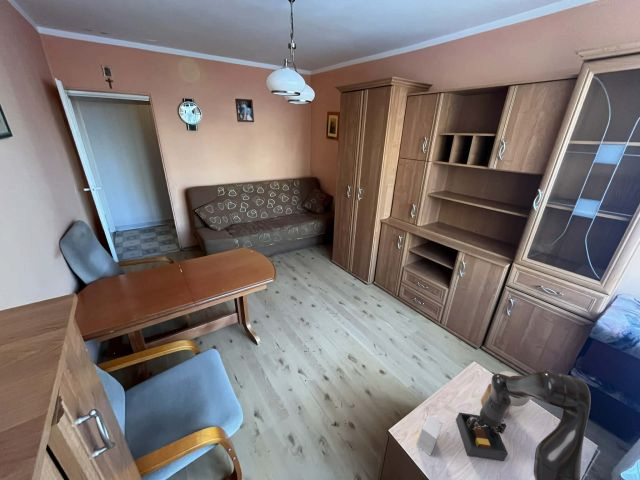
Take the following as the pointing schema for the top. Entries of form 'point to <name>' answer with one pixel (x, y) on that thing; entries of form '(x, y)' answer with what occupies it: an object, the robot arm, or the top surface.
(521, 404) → the lamp
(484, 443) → the chocolate bar
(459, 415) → the dark gray rectangular tray
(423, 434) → the small box
